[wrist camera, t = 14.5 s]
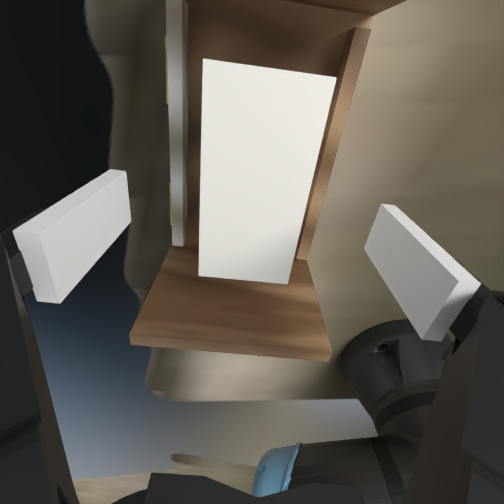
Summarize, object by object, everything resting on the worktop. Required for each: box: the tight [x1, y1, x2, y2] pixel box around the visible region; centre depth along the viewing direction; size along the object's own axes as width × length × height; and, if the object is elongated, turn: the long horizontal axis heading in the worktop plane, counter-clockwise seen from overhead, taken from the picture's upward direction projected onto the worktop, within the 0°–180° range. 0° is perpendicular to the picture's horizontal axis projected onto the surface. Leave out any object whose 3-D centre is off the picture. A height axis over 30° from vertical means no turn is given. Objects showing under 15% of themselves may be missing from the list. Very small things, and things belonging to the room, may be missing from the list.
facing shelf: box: [129, 0, 406, 362], centre depth 20 cm, size 22×14×14 cm, turn 173°
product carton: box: [198, 59, 337, 284], centre depth 20 cm, size 12×6×10 cm, turn 173°
